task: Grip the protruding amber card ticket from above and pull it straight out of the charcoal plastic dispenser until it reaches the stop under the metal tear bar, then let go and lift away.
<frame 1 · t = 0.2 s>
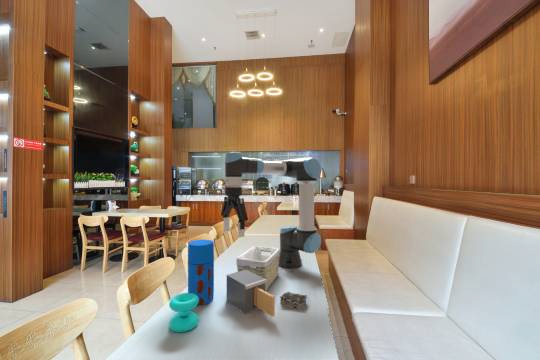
hand: (233, 234, 113), 28 cm above the table, tool pointing down, fingers open, 13 cm apart
turquoise hourglass spool: (184, 325, 91), on the table
egg carton: (293, 304, 107), on the table
ticket: (255, 295, 102), point 6 cm above the table, slide at 0.0 cm
thermos: (201, 300, 110), on the table
storage basket: (259, 281, 131), on the table
dispenser: (245, 303, 107), on the table
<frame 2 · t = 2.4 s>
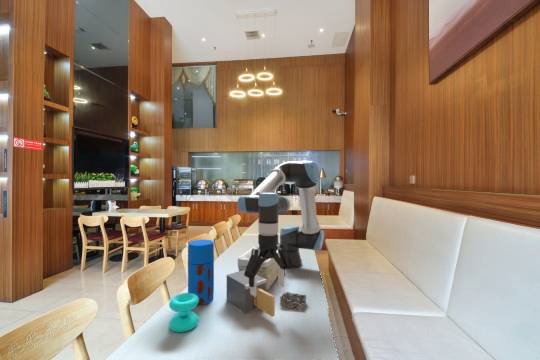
hand: (267, 290, 95), 11 cm above the table, tool pointing down, fingers open, 13 cm apart
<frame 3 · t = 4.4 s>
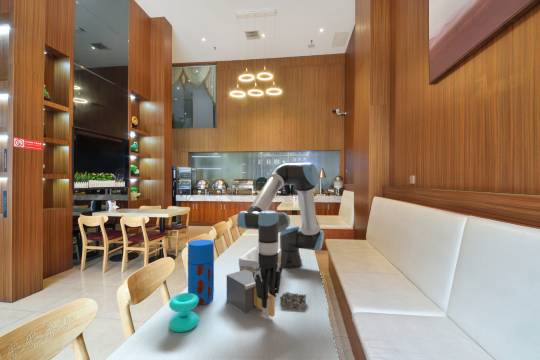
hand: (268, 314, 95), 1 cm above the table, tool pointing down, fingers closed on ticket
ticket: (255, 295, 102), point 6 cm above the table, slide at 0.0 cm, touching gripper
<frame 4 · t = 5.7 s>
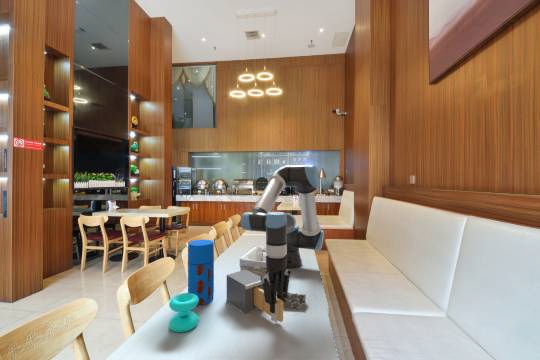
hand: (276, 319, 92), 1 cm above the table, tool pointing down, fingers closed on ticket
ticket: (262, 300, 98), point 6 cm above the table, slide at 4.6 cm, touching gripper
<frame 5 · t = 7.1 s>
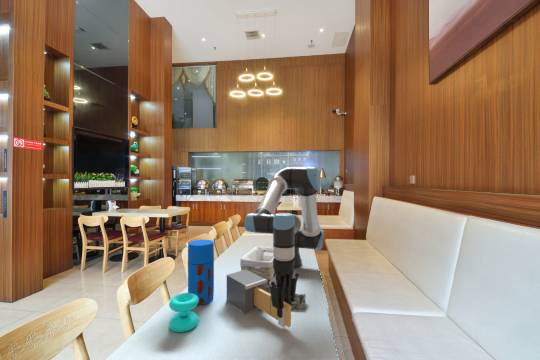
hand: (283, 324, 89), 1 cm above the table, tool pointing down, fingers closed on ticket
ticket: (269, 303, 95), point 6 cm above the table, slide at 8.5 cm, touching gripper
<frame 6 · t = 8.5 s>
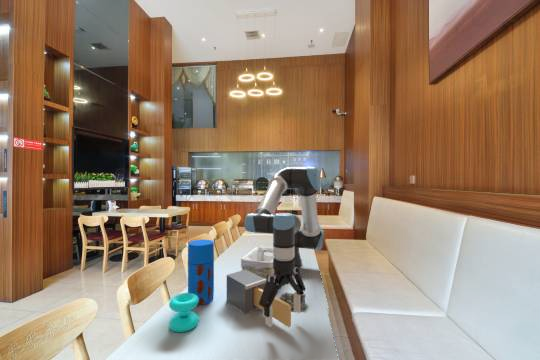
hand: (283, 317, 89), 4 cm above the table, tool pointing down, fingers open, 13 cm apart
ticket: (269, 303, 95), point 6 cm above the table, slide at 8.5 cm
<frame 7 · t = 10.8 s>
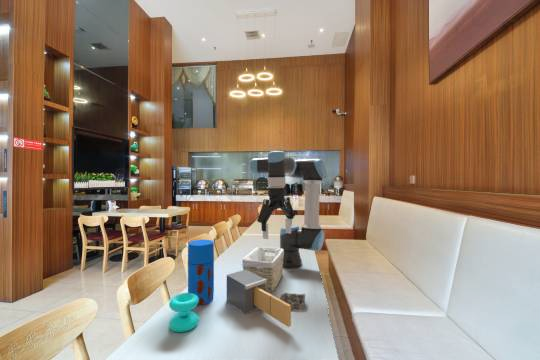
hand: (277, 235, 110), 28 cm above the table, tool pointing down, fingers open, 13 cm apart
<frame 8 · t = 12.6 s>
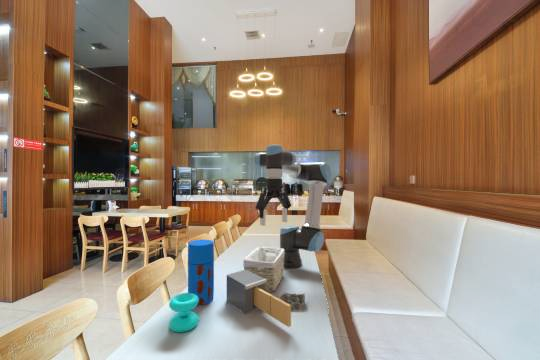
hand: (274, 223, 118), 32 cm above the table, tool pointing down, fingers open, 13 cm apart
at the end: ticket slide at 8.5 cm; the gripper is holding nothing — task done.
